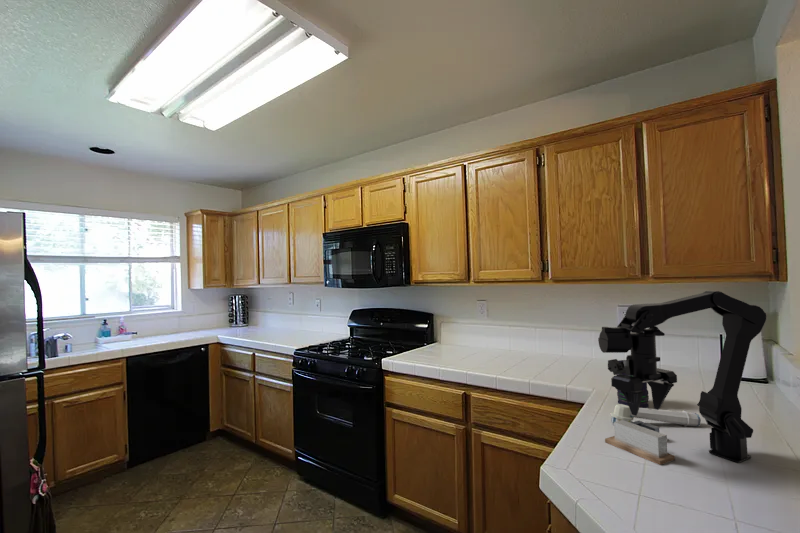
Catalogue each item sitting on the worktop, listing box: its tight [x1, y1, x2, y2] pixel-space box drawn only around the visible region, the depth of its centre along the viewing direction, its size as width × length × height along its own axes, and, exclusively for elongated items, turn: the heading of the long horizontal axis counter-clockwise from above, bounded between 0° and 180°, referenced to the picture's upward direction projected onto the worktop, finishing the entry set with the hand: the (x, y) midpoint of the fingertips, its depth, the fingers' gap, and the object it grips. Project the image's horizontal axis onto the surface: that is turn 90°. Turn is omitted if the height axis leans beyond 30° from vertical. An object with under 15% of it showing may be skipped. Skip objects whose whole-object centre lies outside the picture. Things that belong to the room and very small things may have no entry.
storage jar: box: [616, 359, 650, 409], centre depth 140 cm, size 10×10×15 cm
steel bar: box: [613, 420, 668, 458], centre depth 102 cm, size 12×4×5 cm, turn 25°
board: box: [604, 435, 676, 466], centre depth 103 cm, size 15×6×1 cm, turn 25°
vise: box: [631, 420, 660, 433], centre depth 110 cm, size 6×9×4 cm
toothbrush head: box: [610, 403, 702, 427], centre depth 120 cm, size 5×7×25 cm
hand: (645, 412), depth 101 cm, fingers open, 9 cm apart
